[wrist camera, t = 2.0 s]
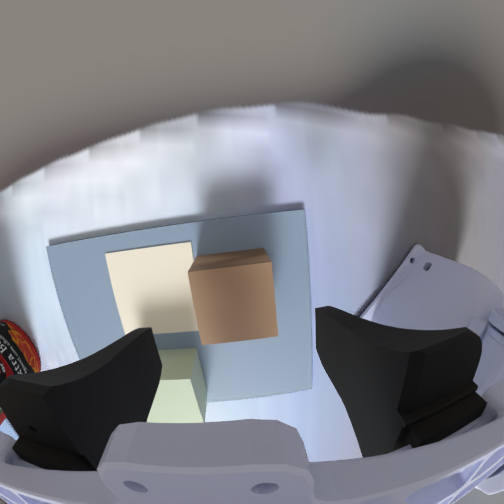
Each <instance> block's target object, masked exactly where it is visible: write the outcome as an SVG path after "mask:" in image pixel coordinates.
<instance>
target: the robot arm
mask: <svg viewBox="0 0 504 504" xmlns="http://www.w3.org/2000/svg"><path fill="white" fill-rule="evenodd" d="M411 258H412V262H411V263H410V260H411ZM315 316H316V349H317V352H318V355H319V358H320V360H321V363H322V365H323V367H324V369H325V371H326V373H327V374H328V376H329V378H330V380H331V382H332V383H333V385H334V387H335V389H336V390H337V392H338V394H339V396H340V397H341V399H342V401H343V403H344V405H345V408H346V410H347V413H348V415H349V418H350V421H351V423H352V426H353V429H354V432H355V434H356V437H357V440H358V443H359V447H360V450H361V453H362V456H363V458H356V459H348V460H337V461H323V462H309V460H308V457H307V454H306V450H305V447H304V443H303V440H302V439H301V437H300V435H299V433H298V431H297V429H296V428H294V427H291V426H289V425H287V424H284V423H282V422H280V421H278V420H260V419H245V420H235V421H222V422H204V423H151V422H147V419H148V416H149V413H150V410H151V407H152V404H153V401H154V398H155V395H156V392H157V389H158V386H159V383H160V377H161V371H162V362H161V359H160V356H159V352H158V349H157V346H156V342H155V339H154V335H153V331H152V328H151V327H146V328H138V329H135V330H133V331H131V332H129V333H128V334H126V335H124V336H123V337H121V338H120V339H118V340H116V341H115V342H113V343H111V344H110V345H108V346H106V347H105V348H103V349H101V350H99V351H97V352H96V353H94V354H92V355H90V356H88V357H86V358H83V359H81V360H79V361H76V362H74V363H71V364H68V365H65V366H62V367H59V368H55V369H51V370H47V371H42V372H37V373H29V374H18V375H10V376H8V377H7V378H6V379H5V380H4V381H3V382H2V383H1V384H0V407H1V409H2V411H3V412H4V414H5V415H6V417H7V419H8V420H9V422H10V423H11V424H12V426H13V427H14V429H15V430H16V432H17V433H18V434H19V436H20V437H19V438H18V440H17V441H16V440H15V439H14V438H13V437H11V436H9V435H7V434H5V433H3V432H1V431H0V497H1V498H2V499H3V500H4V501H6V502H7V503H8V504H453V503H454V502H456V501H457V500H459V499H460V498H462V497H463V496H464V495H466V494H467V493H468V492H470V491H471V490H472V489H474V488H477V489H479V490H481V491H483V492H484V493H486V494H488V495H490V494H495V493H498V492H501V491H504V295H503V293H502V292H501V290H500V289H499V288H498V287H497V286H496V285H495V284H494V283H493V282H492V281H491V280H490V279H488V278H487V277H486V276H484V275H483V274H482V273H480V272H478V271H477V270H475V269H473V268H471V267H469V266H466V265H463V264H461V263H458V262H455V261H453V260H450V259H447V258H444V257H442V256H439V255H436V254H433V253H430V252H427V251H426V250H425V249H424V248H423V247H422V246H421V245H418V244H417V245H415V246H414V247H413V248H412V250H411V251H410V253H409V254H408V256H407V257H406V258H405V260H404V261H403V263H402V264H401V265H400V267H399V268H398V269H397V271H396V272H395V273H394V275H393V276H392V277H391V279H390V280H389V281H388V283H387V284H386V285H385V287H384V288H383V289H382V290H381V292H380V293H379V294H378V295H377V297H376V298H375V299H374V300H373V302H372V303H371V304H370V305H369V306H368V308H367V309H366V310H365V311H364V312H363V314H362V315H361V316H360V317H357V316H355V315H352V314H350V313H347V312H345V311H342V310H340V309H337V308H334V307H331V306H326V307H320V308H315Z"/></svg>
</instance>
